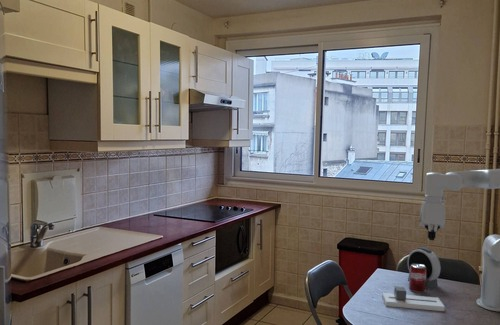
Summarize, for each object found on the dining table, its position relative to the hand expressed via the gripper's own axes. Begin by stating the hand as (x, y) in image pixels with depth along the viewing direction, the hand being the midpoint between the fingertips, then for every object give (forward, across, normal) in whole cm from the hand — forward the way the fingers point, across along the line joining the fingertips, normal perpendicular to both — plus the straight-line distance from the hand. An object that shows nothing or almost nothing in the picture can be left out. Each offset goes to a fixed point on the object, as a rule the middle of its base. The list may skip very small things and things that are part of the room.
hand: (431, 239), depth 189 cm
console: (+27, +9, +10) cm, 30 cm away
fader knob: (+24, +14, +10) cm, 30 cm away
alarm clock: (+27, -2, -19) cm, 33 cm away
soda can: (+27, +3, -8) cm, 29 cm away
